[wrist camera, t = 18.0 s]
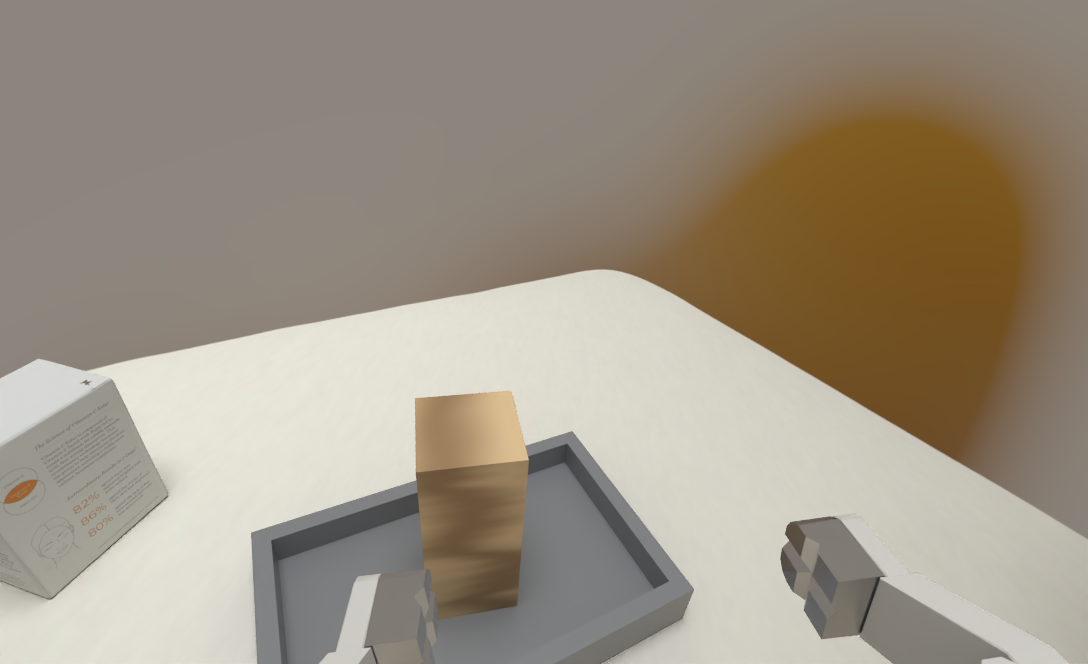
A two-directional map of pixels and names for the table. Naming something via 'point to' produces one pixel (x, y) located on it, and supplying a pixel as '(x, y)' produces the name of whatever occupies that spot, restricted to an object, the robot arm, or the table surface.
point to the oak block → (471, 499)
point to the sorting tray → (544, 581)
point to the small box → (66, 474)
